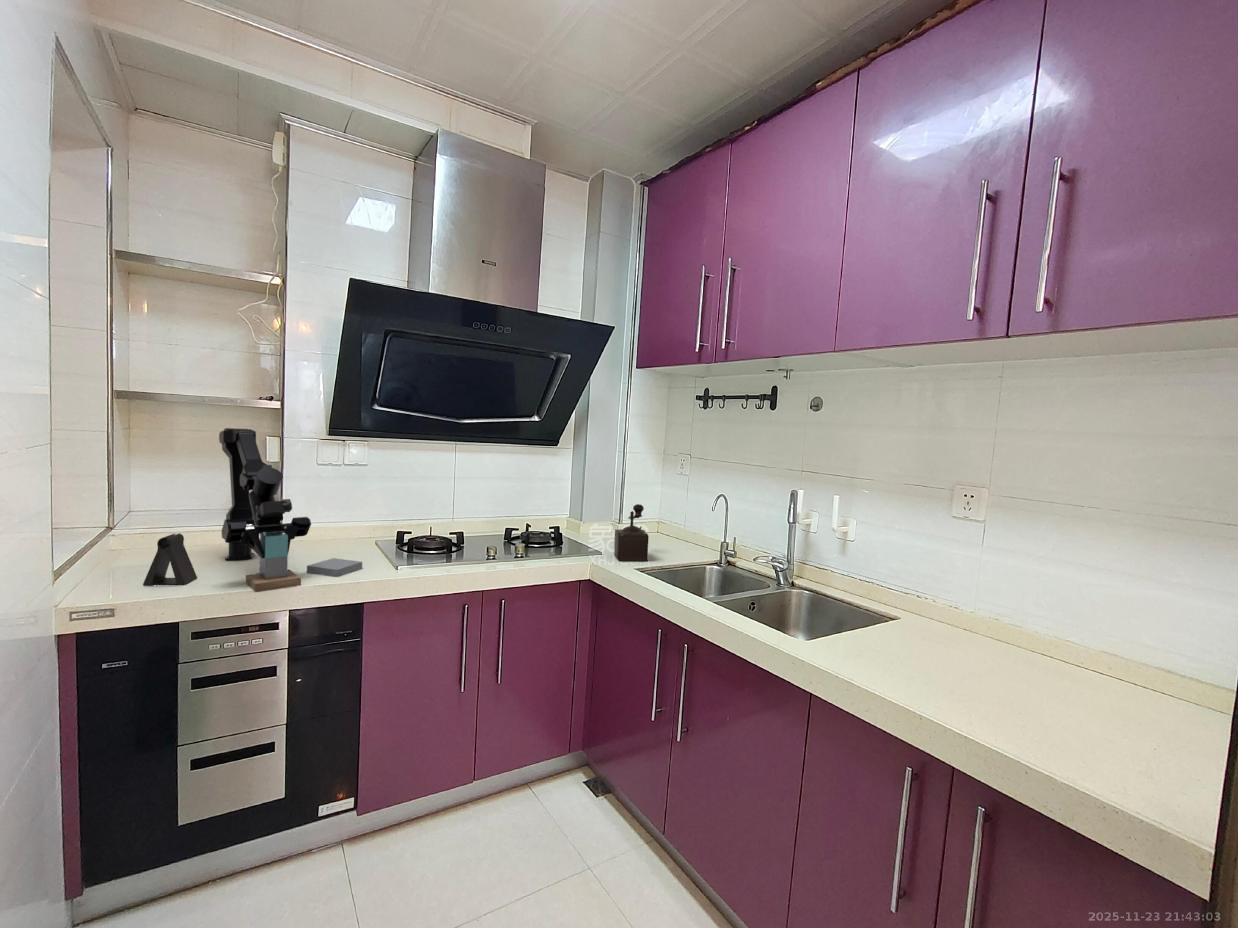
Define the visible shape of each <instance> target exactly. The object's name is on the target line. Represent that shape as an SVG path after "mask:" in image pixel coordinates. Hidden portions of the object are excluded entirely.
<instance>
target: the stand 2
mask: <svg viewBox="0 0 1238 928" xmlns="http://www.w3.org/2000/svg"><path fill="white" fill-rule="evenodd" d="M361 569H363V561H359V560H353V559H352V560H351V559H343V558H335V557H332V558H329V559H326V560H322V561H319V562H315V563H312V564H308V565H306V574H313V575H319V576H320V575H321V576H327V577H334V578H335V577H336V578H337V577H341V576H345V575H347V574H350V573H353V572H356V571H359V570H361Z"/></svg>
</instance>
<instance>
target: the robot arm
mask: <svg viewBox="0 0 1238 928" xmlns="http://www.w3.org/2000/svg"><path fill="white" fill-rule="evenodd" d="M218 441H219V444H221V448H222V449H221V450H222V451H223V453H224V454H225V455H226V456H227V457H228V462H229V478H230V491H231V492H230V493H231V506H230V508H229V509H228V511H227V512H226V514H225V519H224V520H223V524H222V528H221V539H223V540H224V542H225V543H226V544H228V555H227V556H226V557H225V558H224V560H225V561H235V560H236V561H237V560H252V559H253V557H254V556H255V553H256V554H257V555H258V556H259V558H260V557H261V558H264V551H263V548H262V545H261V542H260V534H262V533H263V532H266V533H273V532H284V533H285V534H287V535H288V553H289V551H290V546H291V541H292V540H294V539H296V537H297V538H298V537H305V536H307V535H308V533H309V531H310V528H311V526H312V521H311V519H310V518H309V517H308V516H299V517H292V519H291V522H289V523H288V522H287V523H283V522H282V521H283V520H284V514H285V513H290V512H291V511H292V510H293V504H292V500H291V499H290V498H287V499H284V498H283V499H282V500H276V498H275V496H276V495H277V494H278V493H279V489H280V486H281V484H282V481H283V478H284V475H283V473H282V472H281V471H280V470H279V469H278V468H275V467H273V466H272V464H267V463H265V462H263V460H262V457H261V453H260V450H259V447H258V443H257V431H255V430H254V429H250V428H231V427H227V428H226V427H225V428H224V429H223V430H221V431H219V435H218ZM281 522H282V523H281ZM252 550H253V551H252Z"/></svg>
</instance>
